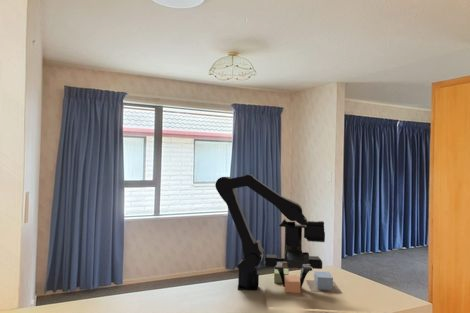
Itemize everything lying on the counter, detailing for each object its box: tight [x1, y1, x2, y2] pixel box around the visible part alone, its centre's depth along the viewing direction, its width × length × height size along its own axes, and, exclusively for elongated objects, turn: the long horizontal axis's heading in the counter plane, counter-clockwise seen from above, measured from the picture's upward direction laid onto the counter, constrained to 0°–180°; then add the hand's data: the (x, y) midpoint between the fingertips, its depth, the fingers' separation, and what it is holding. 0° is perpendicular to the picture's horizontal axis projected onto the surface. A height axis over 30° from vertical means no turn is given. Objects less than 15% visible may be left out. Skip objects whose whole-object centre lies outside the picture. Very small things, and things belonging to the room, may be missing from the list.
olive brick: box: [273, 268, 290, 284], centre depth 125 cm, size 5×7×4 cm
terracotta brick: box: [284, 274, 301, 294], centre depth 116 cm, size 5×7×4 cm
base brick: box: [313, 270, 334, 290], centre depth 119 cm, size 5×7×4 cm
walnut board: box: [305, 279, 343, 294], centre depth 119 cm, size 10×12×1 cm
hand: (292, 287), depth 116 cm, fingers closed on terracotta brick, 5 cm apart
